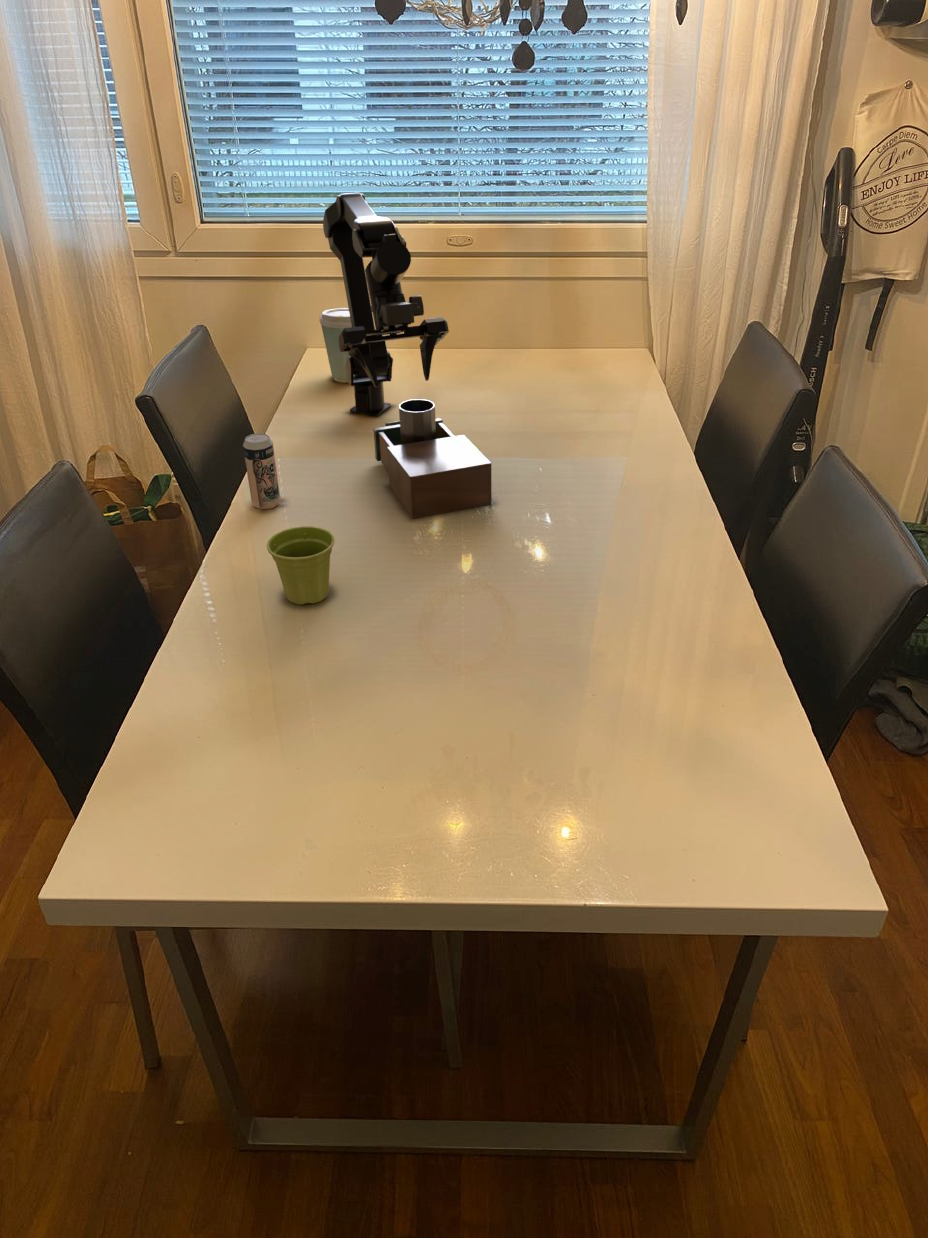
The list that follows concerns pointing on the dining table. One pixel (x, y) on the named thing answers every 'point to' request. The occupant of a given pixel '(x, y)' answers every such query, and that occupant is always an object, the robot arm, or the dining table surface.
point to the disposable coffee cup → (335, 339)
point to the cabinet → (439, 476)
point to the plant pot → (303, 562)
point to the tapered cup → (417, 421)
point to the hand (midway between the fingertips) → (402, 383)
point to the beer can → (261, 471)
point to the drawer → (398, 438)
